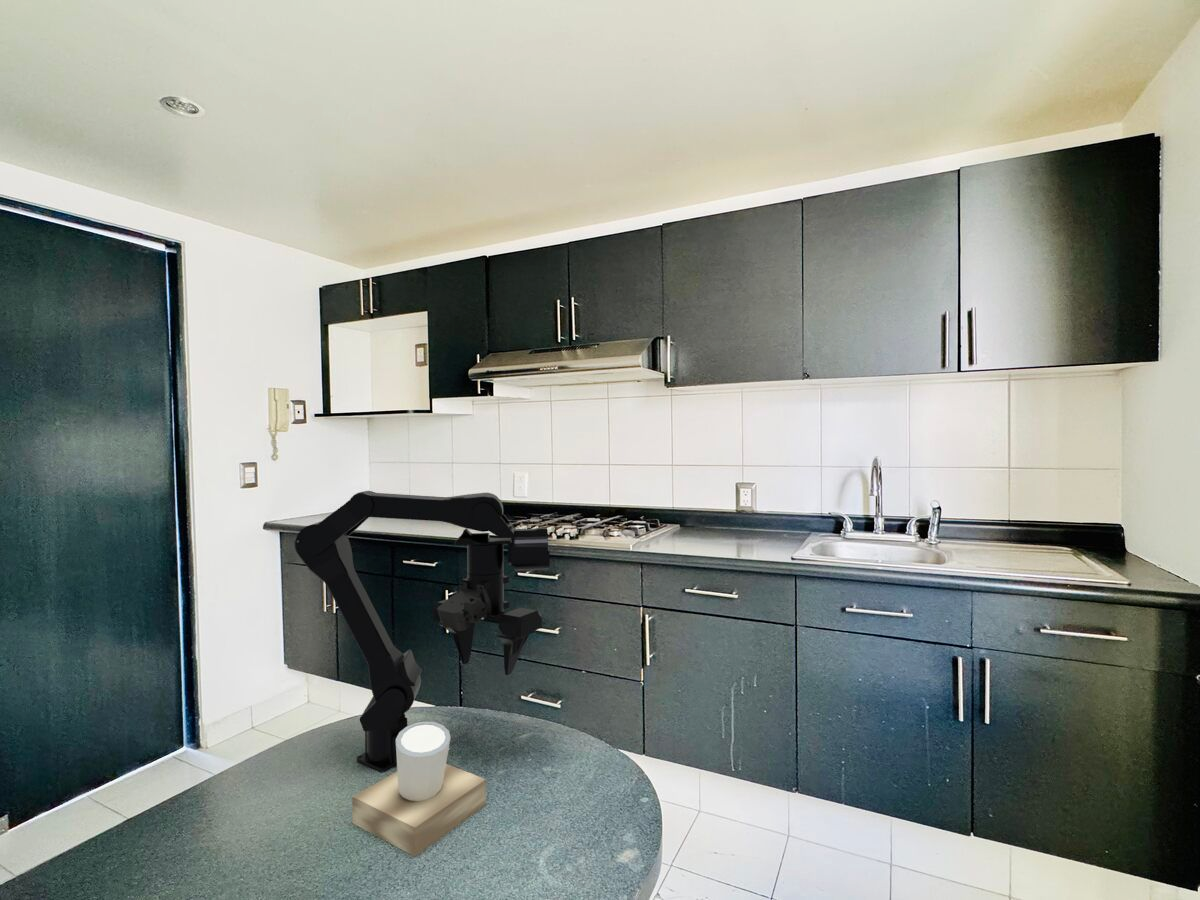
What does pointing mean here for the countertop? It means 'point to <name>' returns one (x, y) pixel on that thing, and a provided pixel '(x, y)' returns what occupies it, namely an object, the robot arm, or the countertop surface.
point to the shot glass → (421, 759)
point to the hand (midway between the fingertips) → (486, 668)
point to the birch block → (418, 810)
